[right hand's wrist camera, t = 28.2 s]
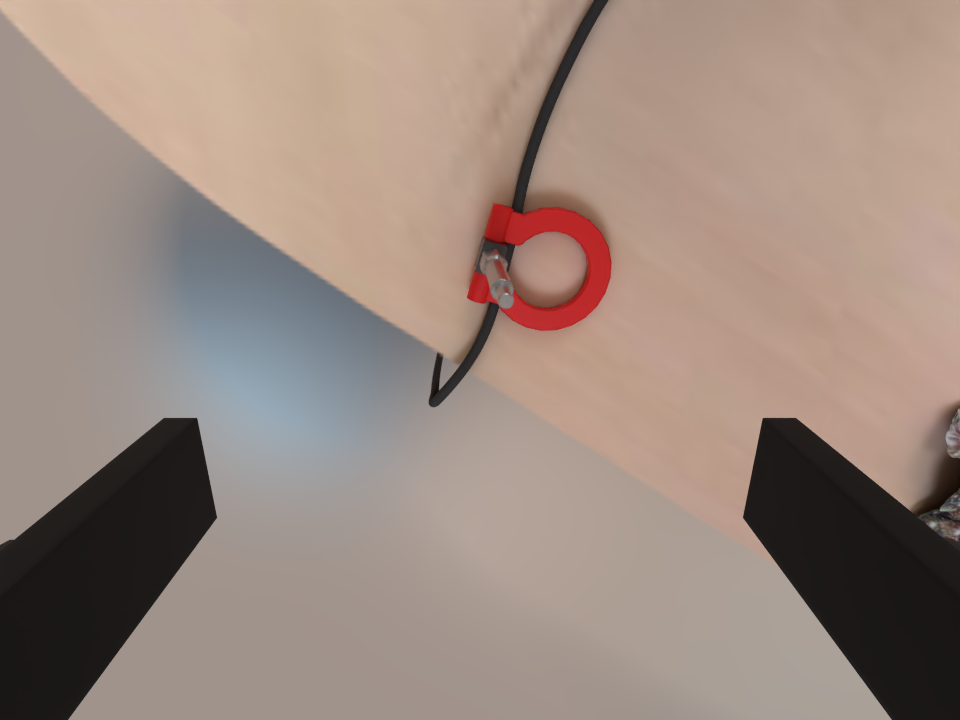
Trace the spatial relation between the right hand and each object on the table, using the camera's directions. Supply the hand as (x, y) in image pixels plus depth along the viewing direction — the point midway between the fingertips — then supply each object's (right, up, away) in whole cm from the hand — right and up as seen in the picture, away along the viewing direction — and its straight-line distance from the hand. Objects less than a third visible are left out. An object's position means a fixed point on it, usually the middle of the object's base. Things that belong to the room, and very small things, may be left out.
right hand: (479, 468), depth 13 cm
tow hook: (+4, +9, +25) cm, 27 cm away
